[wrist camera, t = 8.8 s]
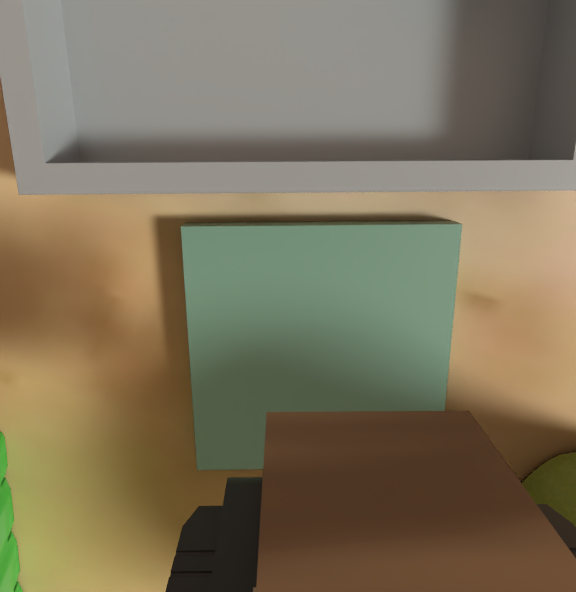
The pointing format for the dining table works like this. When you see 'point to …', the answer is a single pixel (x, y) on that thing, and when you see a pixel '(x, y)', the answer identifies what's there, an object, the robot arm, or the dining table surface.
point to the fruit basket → (7, 531)
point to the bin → (289, 95)
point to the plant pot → (555, 485)
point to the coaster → (313, 324)
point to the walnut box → (399, 508)
